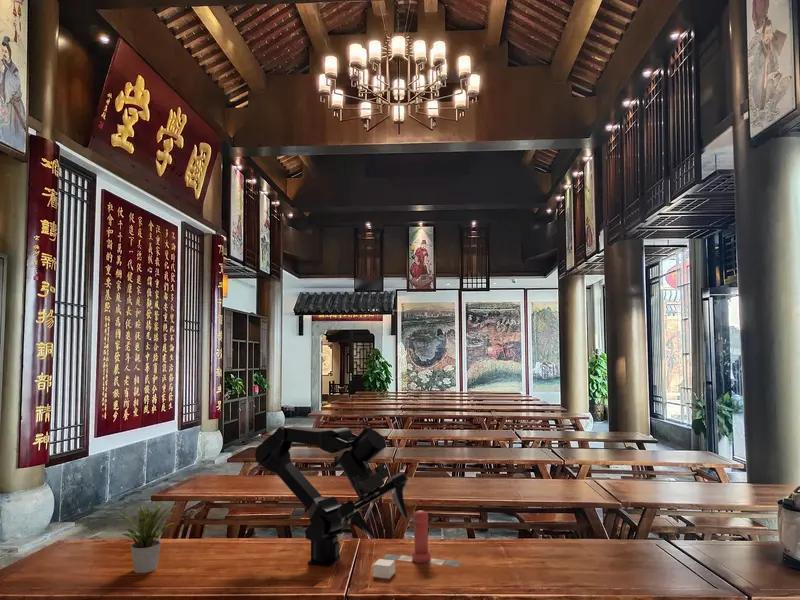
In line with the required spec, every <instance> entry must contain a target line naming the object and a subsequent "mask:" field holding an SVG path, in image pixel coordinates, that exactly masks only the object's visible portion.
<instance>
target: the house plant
mask: <svg viewBox="0 0 800 600" xmlns="http://www.w3.org/2000/svg"><path fill="white" fill-rule="evenodd" d="M162 504H163V503H160V504H159V505H157V506H156V509H155V510H154V511H150V509H149V507H148V505H147V504H146V502H144V506H143V505H141V506H139V505H138V506H137V514H138V526H137V525H136V524H135V522H134V521H133V520H132V518H130V517H128V516H127V515H126V514H125V513H124V514H123V513H121V512H118V514H120V515H121V516H123V517H125V518H126V519H127V520H128V521H129V522H130V524H132V526H133V528H134V529H135V530H133V529H132V528H130V527H128V526H125V529H127V531H128V533H125V532H124V533H121V534H120V536H126V537H128V538H130V539H131V540H133V543H132V544H130V551H131V558H132V565H133V571H134V573H135V574H146V573H151V572H154V571H156V570H157V569H158V562H159V556H160V550H161V544H162V542H161V540H160V538H159V536H162V535H163V533H164V531H165V530H166V529H167V528H170V529H171V527H170V525H173V524H174V522H173V523H172V522H170V523H168V524H166V525H161V524H162V522H163V521H164V520H165V519H166V518H167V517H168V516H170V515H172V514H174V512H170V513H167V511H169V510H170V509H171V508H174V507H177V506H179V505H171V506H168V507H167V508H165V510H163V511H162V512H161V513H160V511H161V506H162ZM159 513H160V514H159ZM163 515H165V516H164V517H163V518H162V516H163ZM161 518H162V519H161ZM160 519H161V521H160ZM159 521H160V522H159ZM158 522H159V524H158V525H157V523H158ZM156 526H157V527H156ZM155 527H156V529H155ZM160 529H161V531H159V530H160Z"/></svg>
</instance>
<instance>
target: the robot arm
mask: <svg viewBox="0 0 800 600" xmlns="http://www.w3.org/2000/svg"><path fill="white" fill-rule="evenodd" d="M294 443H295V444H296V443H298V444H304V445H311V446H316V447H318V448H319V449H320V450H321V451H324V452H327V453H330V454H336V453H341V452H342V454H341V455H336V456H334V457H333V459H334V460H333V462H332V468H333V469H335V468H339V467H341V469H342V471H343V473H344V475H345V476H346V478H347V480H348V481H349V483H350V486H351V489H354V492H355V493H356V495H357V497H358V500H357V501H355V502H353V501H352V499H351V500H348V501H347V502H346V503H343V504H341V503H339V502H338V500H337V498H336V497H334V496H333V495H332V496H330V497H326V498H325V497H324V496H322V495H321V494H320V492H319V491H318V490H317V489H316V488H315V487H314V486H313V484H311V482H310V481H309V480H308V478H306V477H305V475H304V474H303V473H302V472H301V471H300V470H299V469H298V468H297V466H296V465H295V464H294V462H292V461H291V460H292V459H291V452H290V449H292V447H293V444H294ZM386 447H387V442H386V439H385V438H384V436H383V435H381V433H379V432H378V431H376V430H374V429H373V427H372V426H367V427H365V428H363V430H362V431H361V432H360V433H359V434H356V433H353V432H352V429H350V428H348V427H340V428H331V429H318V428H311V427H310V428H309V427H302V426H295V425H292V424H288V425H282V426H279V427H278V428H276V430H275V431H274V432H273V433H272V434H271V435H270V436H268V437H267V438H266V439H264V440H263V441H262V442H261V443H260V444H258V445H257V447H256V449H255V451H254V453H255V454H254V456H255V461H256V462H257V464H259V465H260V466H261V467H262V468H264V470H266V471H270V472H271V473H274V474H276V475H277V476H278V478H280V480H281V481H282V482H283V483H284V484H285V485H286V486H287V488H288V489H289V490H290V491H291V492H292V494H293V495H295V497H296V498H297V500H298V501H300V503H301V504H302V505H303V506H304V507H305V509H307V512H308V519H309V522H310V524H309V525H308V527H307V528H306V529H305V530H304V533H305V538H306V539H307V540H308V541H309V540H310V558H309V560H307V564H310V565H319V566H326V567H327V566H328V567H330V566H332V565H334V564H335V563H336V562H337V561H339V560H340V559H341V554H340V552H341V551H340V545H341V544H340V542H339V536H338V535H341V534H342V532H343V530H344V527H345V526H346V525H350V524H352V525H353V526H355V527H356V528H358V529H359V530H361V531H362V532H364V534H366V535H367V536H369V537H370V538H371V540H372V539H373V540H375V539H376V536H375V534H374V532H373V531H372V529H371V528H370V526H369V525H368V523H367V522H366V520H365V519H364V518H363V516H362V514H361V511H360V509H362V508H363V507H365V506H367V505H369V504H370V503H372V502H374V501H376V500H377V499H379V498H380V497H382V496H384V495H386V494H388V493H392V495H391V498H392V500H393V502H394V503H395V505H396V507H397V509H399V512H400V514H401V515H402V517H403V518H404V519H405V520H407V519H408V514H407V510H406V509H407V508H406V505H405V501H404V495H403V494H404V493H403V492H404V490H405V488H406V485H407V483H408V481H409V479H408V477H407V474H406V473H404V472H402V471H399V472H396V473H395V474H393V475H392V476H391V477H389V472H388V470H387V469H386V467H385V465H384V464H379V465H377V466H376V467H374V470H375V471H373V470H372V469H371V467H369V466H368V464H367V463H370V462H372V461H373V460H374V459H375V458H376V457H377V456H378V455H379V454H380V453H381V452H382V451H383V450H384V449H385V448H386ZM388 477H389V478H388ZM386 478H388V479H387V482H386V484H385V481H384V480H385V479H386Z"/></svg>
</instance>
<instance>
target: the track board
mask: <svg viewBox="0 0 800 600" xmlns="http://www.w3.org/2000/svg"><path fill="white" fill-rule="evenodd" d="M381 559H386V560H395V561H396V560H397V561H401V562H413V561H412V555H411V556H410V555H399V554H393V553H387V554H385V555H384V556H383V557H382V558H381ZM461 562H462V561H459V560H450V559H449V560H448V559H447V560H446V559H440V558H431V560H430V562H427V564H429V565H437V566H447V567H459V566H460V564H461Z"/></svg>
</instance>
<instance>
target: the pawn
mask: <svg viewBox="0 0 800 600" xmlns="http://www.w3.org/2000/svg"><path fill="white" fill-rule="evenodd" d="M428 522H429V515H428V513H427V512H426V511H425V510H422V509H421V510H417V511H415V513H414V514H413V528H414V529H413V530H414V532H413V533H414V538H413V539H414V541H413V543H414V547H413V548H414V550H412V552H411V556H412V561H411V562H412V563H416V564H428V562H430V560H431V559H432V558H431V550H430V549H429V528H428V527H429V526H428V525H429V523H428Z"/></svg>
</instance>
